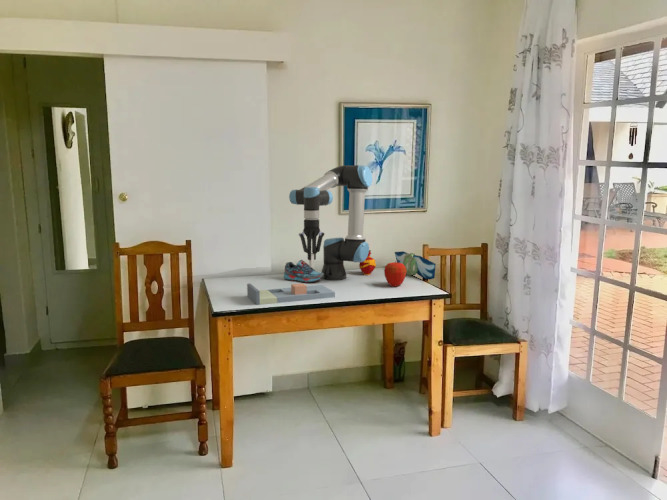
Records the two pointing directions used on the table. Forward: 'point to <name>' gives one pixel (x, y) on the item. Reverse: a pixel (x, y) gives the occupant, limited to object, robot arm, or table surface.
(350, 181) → the robot arm
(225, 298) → the table surface
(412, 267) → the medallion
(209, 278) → the table surface
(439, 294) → the table surface
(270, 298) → the grey flat slotted slab
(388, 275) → the apple
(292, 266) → the running shoe
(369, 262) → the potion bottle
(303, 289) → the block
